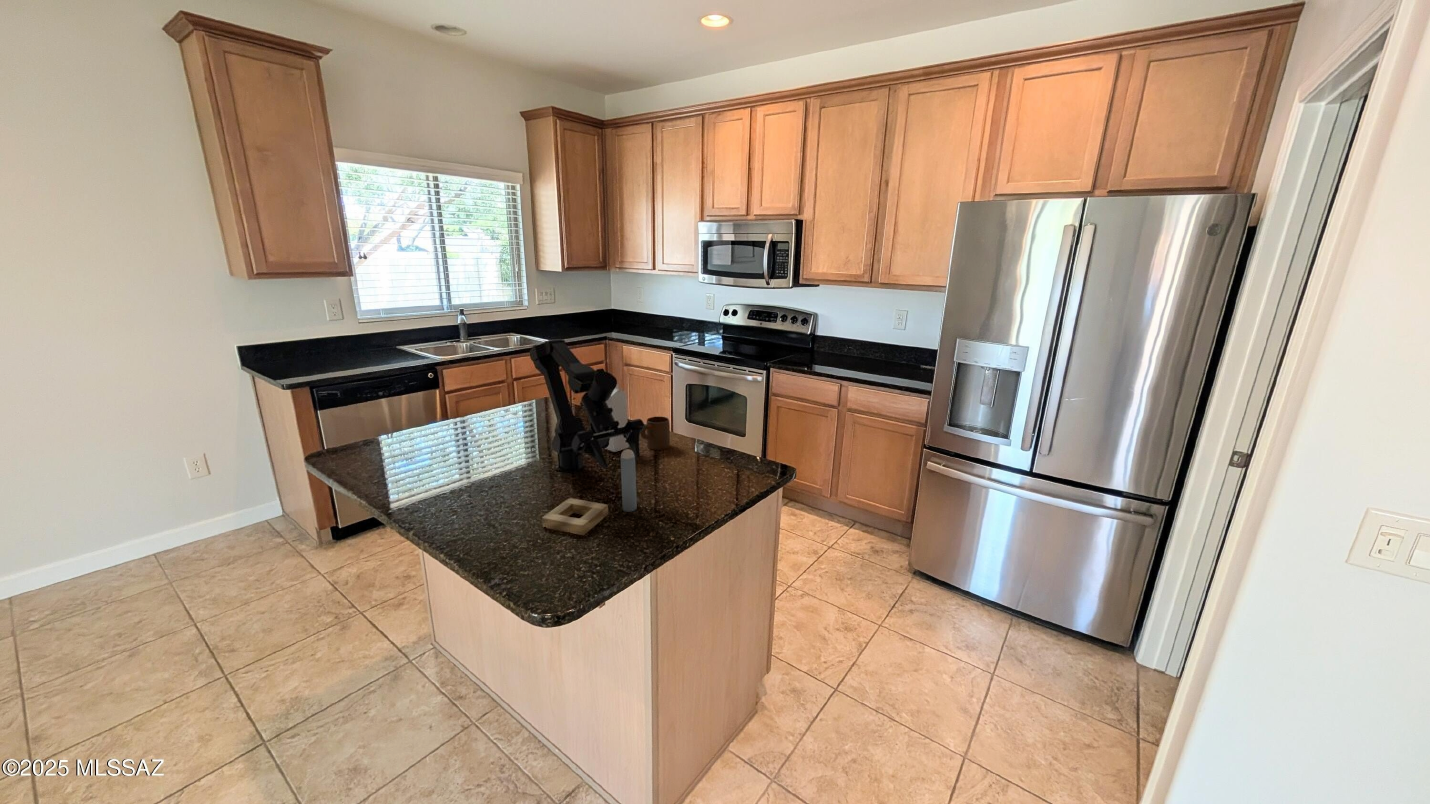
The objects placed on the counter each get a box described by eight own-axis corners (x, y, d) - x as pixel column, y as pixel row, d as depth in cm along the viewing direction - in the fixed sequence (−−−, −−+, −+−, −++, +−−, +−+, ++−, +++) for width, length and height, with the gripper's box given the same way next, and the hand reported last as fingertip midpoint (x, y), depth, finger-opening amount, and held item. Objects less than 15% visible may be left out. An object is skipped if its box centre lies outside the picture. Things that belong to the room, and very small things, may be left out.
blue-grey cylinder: (620, 510, 133) (617, 451, 128) (626, 504, 136) (624, 446, 132) (632, 512, 131) (630, 452, 127) (639, 506, 135) (637, 448, 130)
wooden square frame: (542, 527, 124) (541, 517, 123) (570, 506, 134) (569, 497, 133) (583, 535, 121) (582, 525, 120) (608, 513, 131) (607, 504, 130)
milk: (614, 452, 171) (610, 386, 165) (602, 447, 175) (599, 383, 169) (629, 447, 176) (626, 383, 169) (617, 443, 179) (614, 379, 173)
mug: (650, 456, 168) (649, 428, 166) (633, 451, 172) (632, 423, 170) (674, 445, 178) (674, 418, 175) (657, 441, 182) (656, 414, 179)
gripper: (619, 420, 149) (642, 468, 144) (556, 434, 138) (579, 487, 132) (633, 399, 141) (658, 449, 136) (567, 411, 130) (592, 466, 124)
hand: (622, 463), depth 133 cm, fingers open, 9 cm apart
